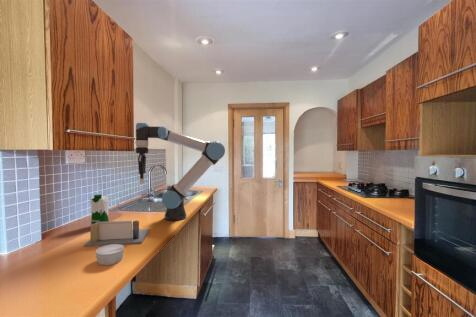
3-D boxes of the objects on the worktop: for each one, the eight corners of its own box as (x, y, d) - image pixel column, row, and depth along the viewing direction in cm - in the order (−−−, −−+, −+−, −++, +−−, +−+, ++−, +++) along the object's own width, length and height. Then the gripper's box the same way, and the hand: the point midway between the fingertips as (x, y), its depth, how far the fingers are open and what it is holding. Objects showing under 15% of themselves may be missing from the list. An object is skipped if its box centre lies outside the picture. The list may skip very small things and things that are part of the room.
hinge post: (139, 238, 132) (139, 220, 132) (138, 240, 129) (138, 222, 129) (133, 239, 131) (133, 220, 131) (132, 241, 128) (132, 222, 128)
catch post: (98, 242, 126) (98, 223, 125) (96, 244, 123) (96, 224, 123) (92, 243, 125) (92, 223, 125) (90, 244, 123) (90, 225, 123)
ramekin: (113, 267, 99) (113, 255, 99) (88, 265, 101) (88, 253, 101) (129, 256, 110) (129, 244, 110) (107, 254, 112) (107, 243, 112)
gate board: (149, 230, 146) (149, 228, 146) (141, 243, 125) (141, 241, 125) (100, 232, 142) (100, 230, 141) (84, 246, 121) (84, 244, 121)
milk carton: (88, 228, 150) (88, 195, 149) (98, 223, 159) (98, 193, 158) (102, 228, 149) (101, 195, 148) (111, 224, 158) (111, 193, 158)
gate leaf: (132, 237, 131) (132, 220, 130) (131, 238, 129) (131, 221, 128) (95, 238, 128) (95, 221, 127) (94, 240, 126) (94, 222, 125)
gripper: (138, 147, 164) (138, 182, 164) (133, 146, 151) (133, 184, 151) (150, 147, 165) (150, 182, 165) (146, 146, 152) (146, 184, 153)
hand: (142, 183), depth 158 cm, fingers closed
